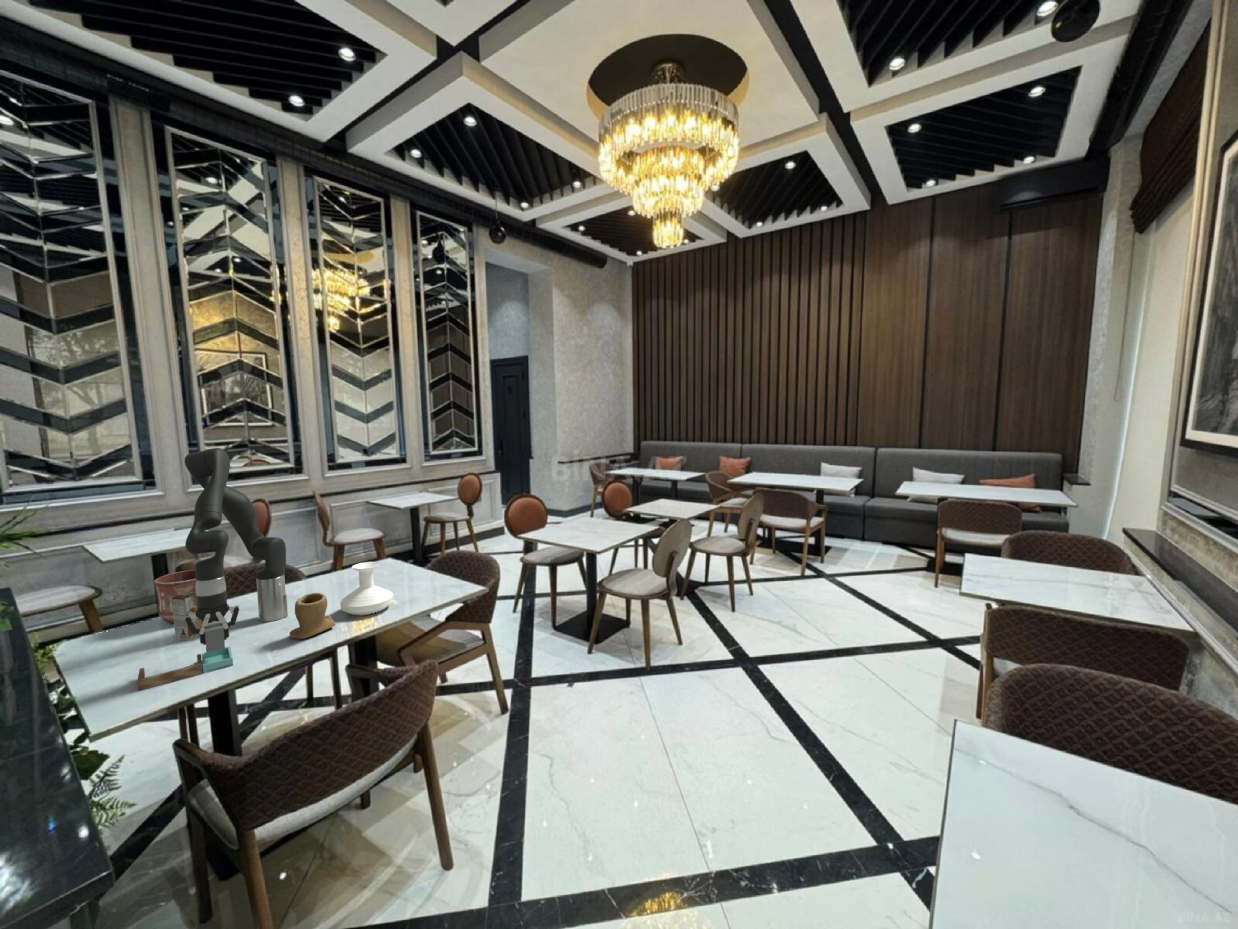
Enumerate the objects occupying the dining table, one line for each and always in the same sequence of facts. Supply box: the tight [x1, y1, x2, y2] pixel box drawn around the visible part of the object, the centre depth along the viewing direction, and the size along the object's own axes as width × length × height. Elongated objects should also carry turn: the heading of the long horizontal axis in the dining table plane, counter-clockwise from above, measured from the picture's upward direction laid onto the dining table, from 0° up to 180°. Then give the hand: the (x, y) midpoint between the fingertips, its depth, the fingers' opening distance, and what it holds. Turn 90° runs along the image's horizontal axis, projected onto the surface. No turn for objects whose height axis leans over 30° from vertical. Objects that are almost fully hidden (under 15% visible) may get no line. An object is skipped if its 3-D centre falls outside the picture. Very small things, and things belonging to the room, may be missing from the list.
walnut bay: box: [137, 653, 203, 691], centre depth 150 cm, size 14×10×3 cm
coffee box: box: [172, 590, 202, 642], centre depth 179 cm, size 9×6×16 cm
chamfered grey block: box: [205, 621, 226, 653], centre depth 158 cm, size 5×8×7 cm, turn 42°
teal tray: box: [201, 646, 234, 674], centre depth 158 cm, size 7×11×2 cm
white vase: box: [339, 561, 394, 616], centre depth 203 cm, size 20×20×19 cm
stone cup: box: [289, 592, 337, 640], centre depth 181 cm, size 15×12×15 cm
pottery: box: [153, 569, 196, 625], centre depth 194 cm, size 18×18×18 cm
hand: (214, 641), depth 158 cm, fingers closed on chamfered grey block, 4 cm apart
